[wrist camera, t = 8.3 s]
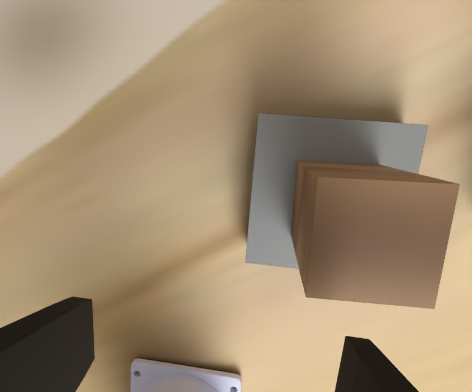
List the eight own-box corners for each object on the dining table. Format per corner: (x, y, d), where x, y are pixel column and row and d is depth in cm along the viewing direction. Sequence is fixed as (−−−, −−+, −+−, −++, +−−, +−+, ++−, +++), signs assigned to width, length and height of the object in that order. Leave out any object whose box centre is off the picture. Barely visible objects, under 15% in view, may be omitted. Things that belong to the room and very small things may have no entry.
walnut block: (368, 241, 15) (434, 308, 9) (290, 236, 15) (306, 297, 9) (379, 164, 14) (459, 184, 8) (297, 160, 14) (317, 177, 9)
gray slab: (375, 257, 18) (395, 280, 15) (248, 243, 19) (245, 262, 16) (399, 127, 16) (428, 125, 14) (260, 117, 17) (258, 113, 14)
